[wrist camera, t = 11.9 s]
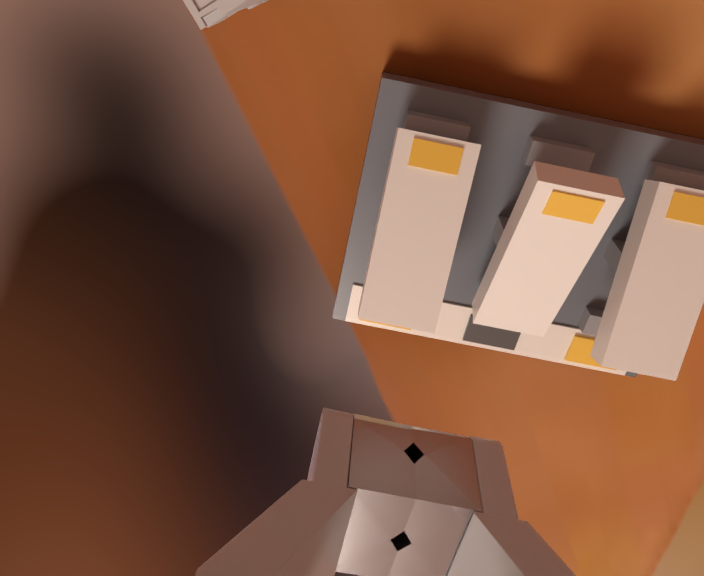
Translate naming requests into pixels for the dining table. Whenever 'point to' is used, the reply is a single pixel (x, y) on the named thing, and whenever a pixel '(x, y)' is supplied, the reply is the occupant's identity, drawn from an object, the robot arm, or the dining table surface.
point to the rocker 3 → (656, 284)
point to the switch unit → (512, 202)
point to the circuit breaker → (217, 9)
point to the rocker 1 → (417, 229)
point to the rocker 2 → (545, 247)
